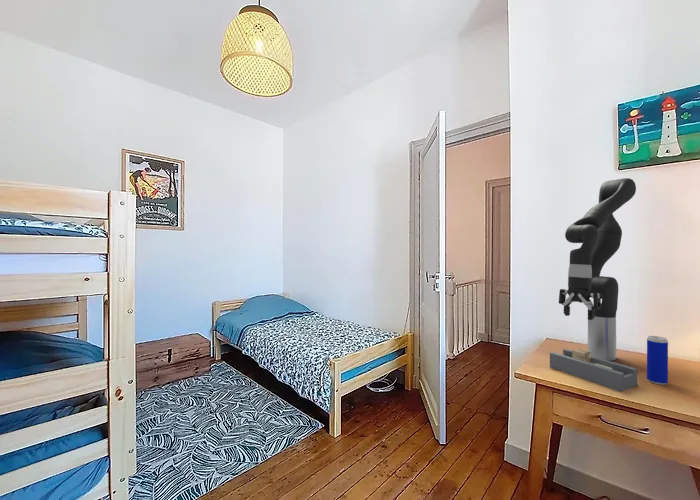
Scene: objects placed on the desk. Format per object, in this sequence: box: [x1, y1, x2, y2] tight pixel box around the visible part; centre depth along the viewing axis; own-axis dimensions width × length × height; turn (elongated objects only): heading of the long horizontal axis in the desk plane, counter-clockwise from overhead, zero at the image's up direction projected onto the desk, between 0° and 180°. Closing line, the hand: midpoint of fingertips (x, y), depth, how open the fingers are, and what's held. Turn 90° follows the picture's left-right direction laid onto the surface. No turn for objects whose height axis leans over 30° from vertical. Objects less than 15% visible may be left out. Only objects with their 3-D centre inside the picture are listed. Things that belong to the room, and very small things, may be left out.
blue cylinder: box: [646, 335, 669, 386], centre depth 110 cm, size 5×5×15 cm
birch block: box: [572, 348, 591, 363], centre depth 119 cm, size 4×4×4 cm
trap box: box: [549, 348, 639, 392], centre depth 116 cm, size 10×23×6 cm, turn 25°
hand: (578, 317), depth 128 cm, fingers open, 8 cm apart
